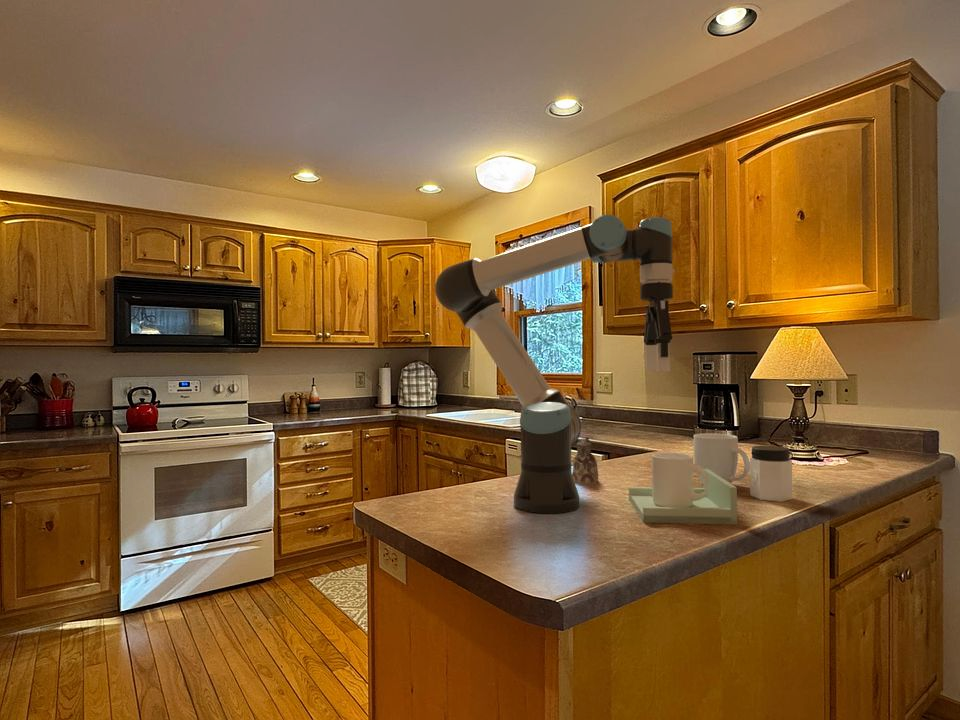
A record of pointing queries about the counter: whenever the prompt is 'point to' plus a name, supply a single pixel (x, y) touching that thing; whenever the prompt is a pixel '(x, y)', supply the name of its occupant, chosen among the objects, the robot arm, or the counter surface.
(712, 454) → the mug
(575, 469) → the figurine
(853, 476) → the counter surface
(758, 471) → the jar
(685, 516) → the tray
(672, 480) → the mug
